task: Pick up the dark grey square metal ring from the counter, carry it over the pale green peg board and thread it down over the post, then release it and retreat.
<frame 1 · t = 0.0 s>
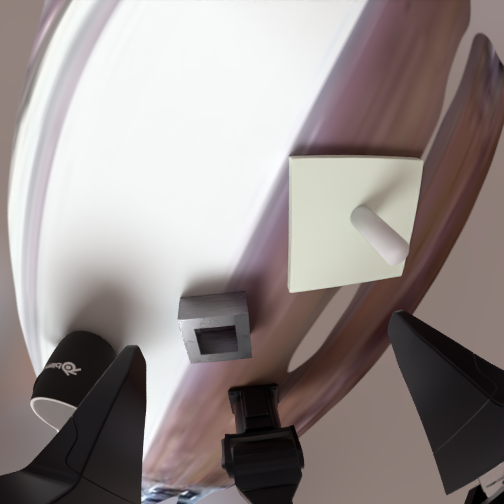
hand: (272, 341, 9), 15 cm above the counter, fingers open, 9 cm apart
peg board: (354, 222, 24), on the counter
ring: (216, 318, 28), on the counter
mug: (81, 349, 29), on the counter
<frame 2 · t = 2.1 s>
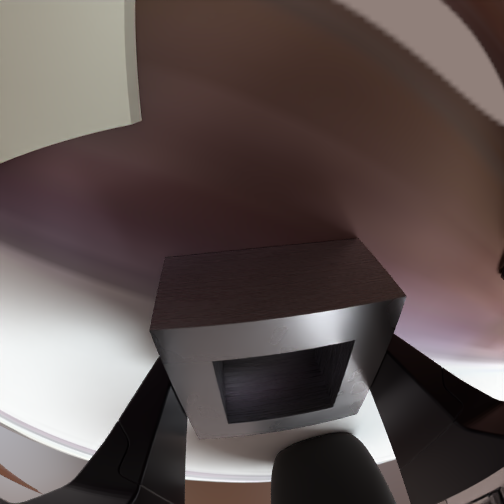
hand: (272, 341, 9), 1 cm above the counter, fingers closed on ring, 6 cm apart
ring: (267, 321, 10), on the counter, touching gripper
mug: (315, 452, 19), on the counter
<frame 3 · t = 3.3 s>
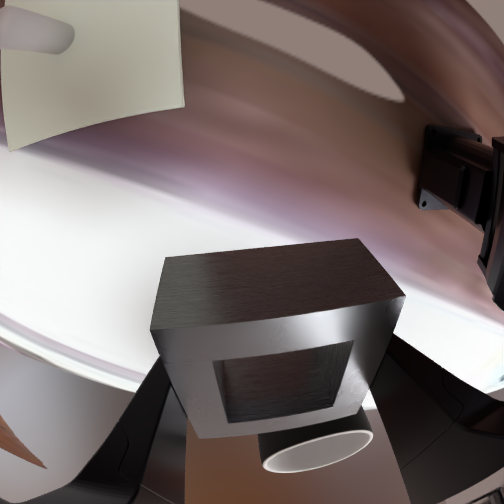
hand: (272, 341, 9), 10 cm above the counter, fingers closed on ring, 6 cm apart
peg board: (81, 35, 11), on the counter
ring: (267, 320, 10), point 9 cm above the counter, touching gripper
mug: (294, 369, 27), on the counter
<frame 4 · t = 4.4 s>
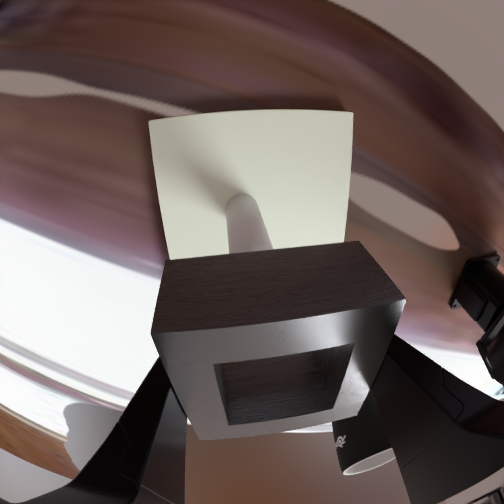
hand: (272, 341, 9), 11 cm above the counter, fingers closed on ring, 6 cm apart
peg board: (256, 202, 19), on the counter
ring: (267, 322, 10), point 10 cm above the counter, touching gripper
mug: (353, 403, 35), on the counter
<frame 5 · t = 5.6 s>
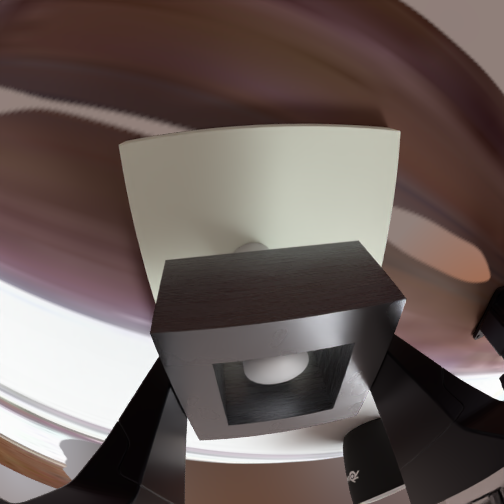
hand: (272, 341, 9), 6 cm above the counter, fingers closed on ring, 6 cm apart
peg board: (269, 248, 14), on the counter
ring: (267, 322, 10), point 5 cm above the counter, touching gripper
mug: (364, 432, 31), on the counter
when the fingers open (3 cm above the counter, at t = 6.5 s): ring drops 1 cm, resting on peg board.
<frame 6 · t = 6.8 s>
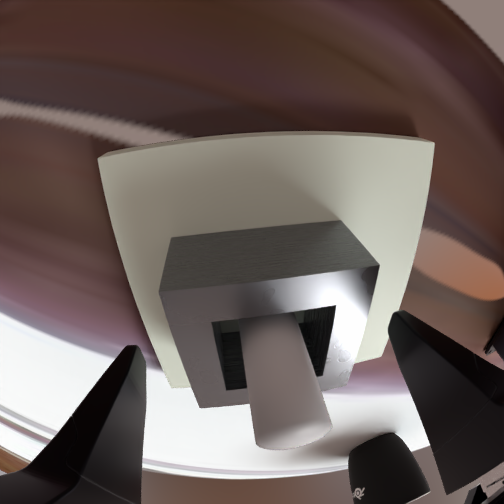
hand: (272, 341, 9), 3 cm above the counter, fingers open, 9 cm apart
peg board: (280, 277, 12), on the counter
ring: (261, 296, 11), point 1 cm above the counter, touching peg board
mug: (370, 447, 29), on the counter
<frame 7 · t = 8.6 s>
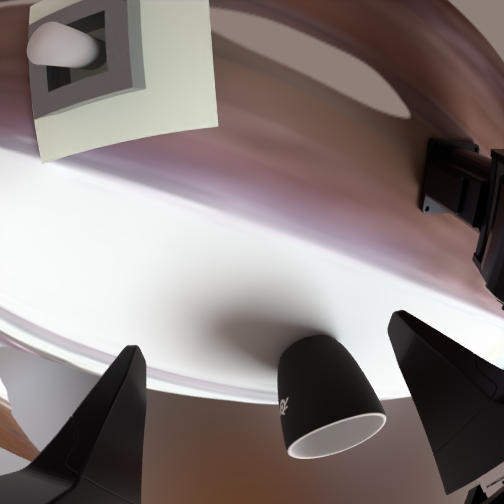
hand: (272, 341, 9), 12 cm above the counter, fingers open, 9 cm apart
peg board: (114, 52, 13), on the counter
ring: (94, 55, 12), point 1 cm above the counter, touching peg board
mug: (310, 362, 30), on the counter
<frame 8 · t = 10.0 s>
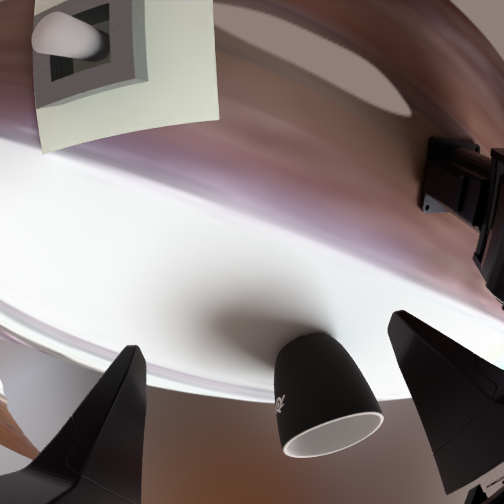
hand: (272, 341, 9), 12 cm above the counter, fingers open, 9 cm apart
peg board: (117, 45, 13), on the counter
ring: (98, 48, 12), point 1 cm above the counter, touching peg board
mug: (307, 360, 29), on the counter
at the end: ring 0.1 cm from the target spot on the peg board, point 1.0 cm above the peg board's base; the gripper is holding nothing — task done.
